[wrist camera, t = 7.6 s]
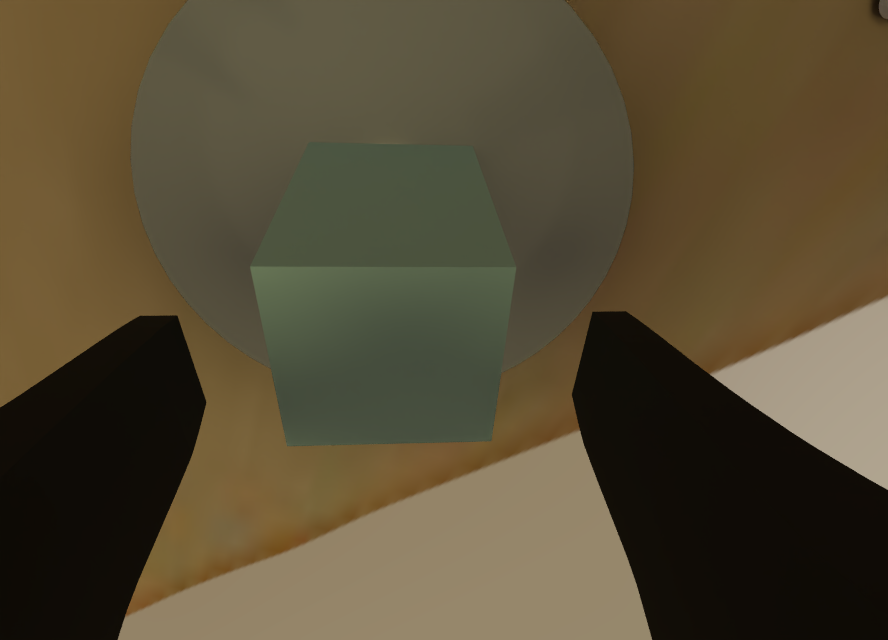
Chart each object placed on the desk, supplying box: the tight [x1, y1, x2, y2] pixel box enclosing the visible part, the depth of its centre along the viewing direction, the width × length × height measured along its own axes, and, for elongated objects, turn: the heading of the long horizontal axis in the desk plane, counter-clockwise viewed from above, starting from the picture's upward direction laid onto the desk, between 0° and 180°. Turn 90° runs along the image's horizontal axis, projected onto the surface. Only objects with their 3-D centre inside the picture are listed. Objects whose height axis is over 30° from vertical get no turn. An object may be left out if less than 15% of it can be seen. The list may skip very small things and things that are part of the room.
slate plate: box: [131, 0, 634, 373], centre depth 14 cm, size 13×13×2 cm
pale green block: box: [250, 142, 516, 446], centre depth 11 cm, size 4×4×6 cm
